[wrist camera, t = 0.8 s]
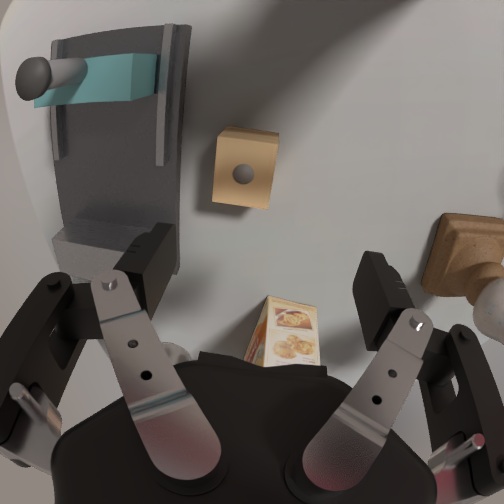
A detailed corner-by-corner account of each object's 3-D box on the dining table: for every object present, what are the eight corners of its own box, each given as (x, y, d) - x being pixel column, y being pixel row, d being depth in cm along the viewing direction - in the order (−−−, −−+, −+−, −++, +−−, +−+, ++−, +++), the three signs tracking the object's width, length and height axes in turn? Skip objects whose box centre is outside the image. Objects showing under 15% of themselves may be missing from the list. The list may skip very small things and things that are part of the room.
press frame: (59, 41, 22) (21, 44, 17) (191, 26, 22) (168, 16, 17) (75, 248, 38) (51, 276, 32) (179, 267, 38) (164, 302, 32)
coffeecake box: (266, 294, 39) (253, 438, 23) (318, 306, 39) (328, 446, 23) (241, 359, 47) (225, 471, 31) (283, 367, 48) (278, 478, 32)
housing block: (227, 126, 28) (217, 136, 23) (278, 133, 28) (278, 145, 23) (221, 181, 31) (211, 202, 27) (269, 188, 31) (267, 210, 27)
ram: (65, 58, 22) (-13, 71, 13) (157, 48, 22) (90, 44, 13) (64, 98, 24) (-11, 125, 15) (153, 94, 24) (88, 114, 15)
